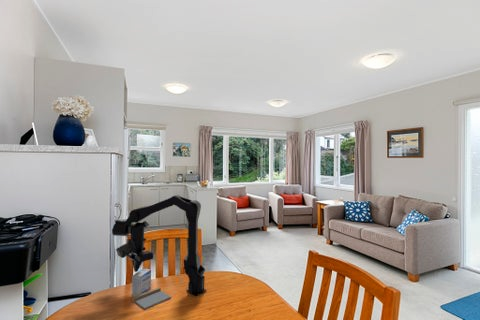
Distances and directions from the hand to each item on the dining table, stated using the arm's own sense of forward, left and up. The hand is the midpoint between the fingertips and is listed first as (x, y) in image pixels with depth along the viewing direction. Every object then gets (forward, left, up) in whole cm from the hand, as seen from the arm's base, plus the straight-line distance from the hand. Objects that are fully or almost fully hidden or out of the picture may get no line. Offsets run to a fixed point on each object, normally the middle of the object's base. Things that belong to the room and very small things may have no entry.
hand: (136, 271), depth 116 cm
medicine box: (0, +5, -8) cm, 9 cm away
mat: (0, +15, -7) cm, 17 cm away
